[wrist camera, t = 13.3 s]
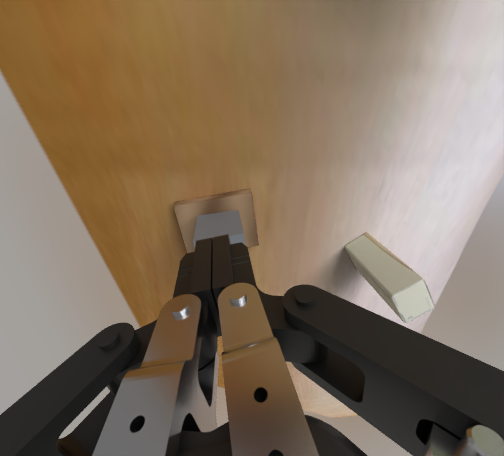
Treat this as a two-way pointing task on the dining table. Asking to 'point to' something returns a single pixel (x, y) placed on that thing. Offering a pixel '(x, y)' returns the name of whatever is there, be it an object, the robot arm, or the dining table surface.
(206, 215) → the blue-grey rectangular block
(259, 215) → the dining table surface
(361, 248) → the skincare box
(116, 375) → the robot arm
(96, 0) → the dining table surface
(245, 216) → the wooden stand with post
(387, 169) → the dining table surface
